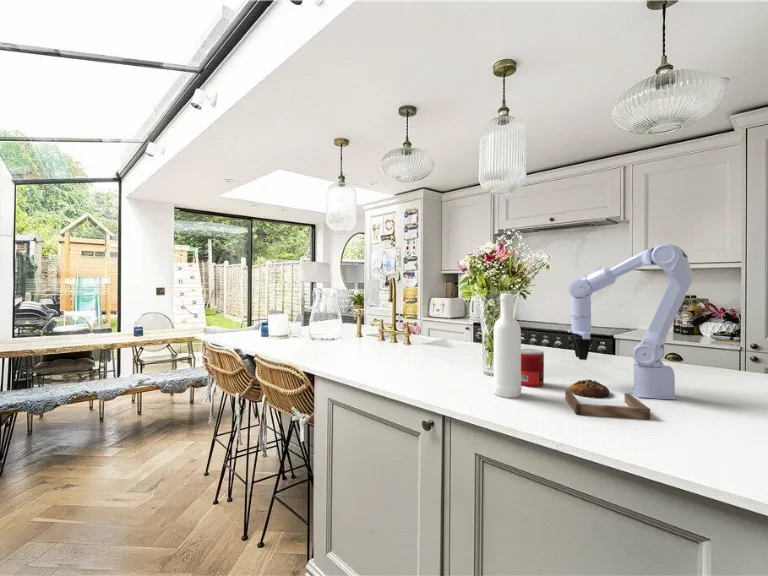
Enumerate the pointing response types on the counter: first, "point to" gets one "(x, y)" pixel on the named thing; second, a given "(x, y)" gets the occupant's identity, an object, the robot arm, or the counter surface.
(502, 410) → the counter surface
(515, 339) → the bottle
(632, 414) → the wooden u-shaped frame
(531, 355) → the canned food
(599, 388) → the mushroom cheese tart
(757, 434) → the counter surface
